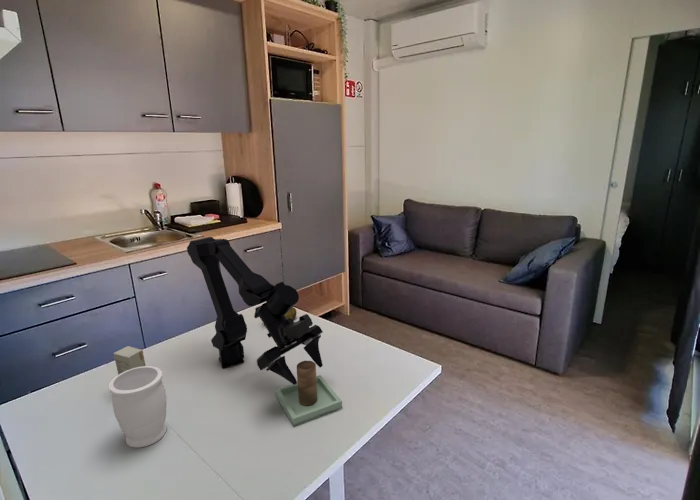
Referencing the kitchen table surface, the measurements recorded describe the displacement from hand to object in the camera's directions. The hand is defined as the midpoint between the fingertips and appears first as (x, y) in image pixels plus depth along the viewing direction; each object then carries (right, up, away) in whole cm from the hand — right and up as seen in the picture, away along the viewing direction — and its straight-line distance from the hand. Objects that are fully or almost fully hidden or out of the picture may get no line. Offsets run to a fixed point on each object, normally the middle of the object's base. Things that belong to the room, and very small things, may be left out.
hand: (309, 375), depth 96 cm
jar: (-37, -12, -7) cm, 39 cm away
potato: (-16, +4, +48) cm, 50 cm away
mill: (-1, -7, +3) cm, 8 cm away
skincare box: (-48, -7, +9) cm, 49 cm away
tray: (-1, -8, +3) cm, 8 cm away
